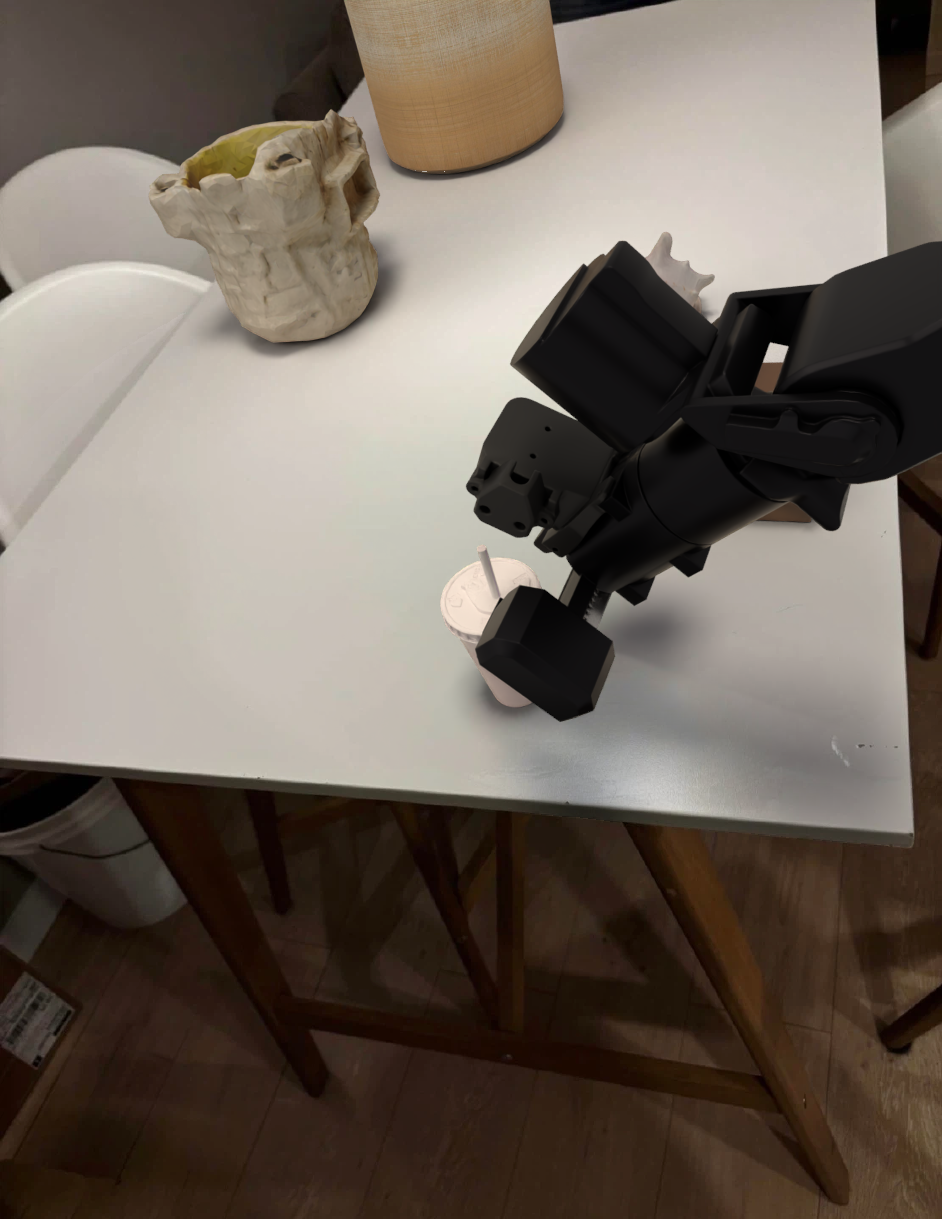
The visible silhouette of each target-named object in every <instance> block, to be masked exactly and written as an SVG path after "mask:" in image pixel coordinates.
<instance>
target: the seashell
mask: <svg viewBox="0 0 942 1219" xmlns="http://www.w3.org/2000/svg"><path fill="white" fill-rule="evenodd" d="M673 241H674V240H673V236H672V235H671V233H670V232H668V231H663V232H662V233H661V235H660V236H659V238H658V240H657V242H656V243H655V245H654V247H653V248H652V249H651V251H650V253H649V254H648V255H647V256H644V257H645V258H646V260H647V261H648V262H649V263H650V264H651V266H652V267H653V269H654V270H655V271H656V273H657V274H658V275H659V277H660V278H661V279H662V280H663V281H664V282H666V283H667V284H668V285H669V286H670V287H671V288H672V289H673V290H675V291H676V292H677V293H678V294H679V295H680V296H681V297H682V298H683V299H685V300H686V301H687V302H688V303H689V304H690V305H691V306H692V307H694V308H695V309H696V310H697V311H698V312H699V313H700V314H701V315H702V298H701V296H699V295H700V293H701V291H702V290H703V289H705V288H707V287H708V286H709V285H711V284H712V283H714V281H715V277H716V276H715V274H713V273H711V274H702V273H700V272H697V271H695V270H694V269H693V268H692V267H691V264H690V260H687V259H686V260H684V261H683V260H678V259H675V258H674V257H673V256H672V254H671V252H672V248H673Z"/></svg>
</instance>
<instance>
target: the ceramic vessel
mask: <svg viewBox="0 0 942 1219" xmlns="http://www.w3.org/2000/svg"><path fill="white" fill-rule="evenodd" d="M363 136H364V131H363V129H362V128H361V127H359V126H358V123H357V120H356V119H355V117H354V116H349V117H348V116H340V115H339V113H337V112H336V111H334V110H333V109H330V110H329V111H328V112H326V114H325V117H324V119H323V120H279V121H270V122H264V123H260V124H251V125H248V126H246V127H242V128H240V129H237V130H235V131H233V132H230V133H228V134H224V135H221V136H219V137H218V138H217V139H216V140H215V141H213V142H212V143H211V144H209V145H206V146H203V147H202V148H200V149H199V150H198V151H197V152H195V154H193V155H192V156H190V157H188V158H187V159H185V160H184V161H183V162H182V163H181V165H179V171H178V172H176V173H163V174H160V175H159V176H158V177H156V179H155V180H154V181H152V182H151V184H149V186H148V187H149V192H148V201H149V204H150V205H151V207H152V209H153V211H154V212H155V213H156V215H157V217H158V218H159V221H160V223H161V224H162V226H163V228H164V231H165V232H166V234H167V235H168V236H170V237H172V238H174V239H182V240H188V241H193V242H196V243H197V244H198V245H200V246H201V247H203V249H205V250H206V252H207V254H208V258H209V261H210V265H211V268H212V270H213V273H214V277H215V282H216V283H217V285H218V288H219V290H221V293H222V296H223V298H224V301H225V304H226V306H227V308H228V310H229V311H230V312H231V313H232V314H233V315H234V317H235V318H236V319H237V320H238V322H239V324H240V326H241V327H242V328H244V329H245V330H247V331H249V332H250V333H252V334H254V335H256V336H257V337H260V338H262V339H264V340H267V341H269V342H271V343H272V344H273V343H274V344H275V343H286V342H302V341H303V342H305V341H313V340H318V339H325V338H328V337H330V336H333V335H335V334H337V333H339V332H341V331H343V330H345V329H346V328H347V327H349V326H350V325H351V324H353V323H354V322H355V321H356V320H357V319H358V318H360V317H361V316H362V314H363V312H364V311H365V310H366V308H367V307H368V304H369V303H370V301H371V298H372V297H373V294H374V291H375V289H376V285H377V283H378V280H379V279H378V278H379V260H378V252H377V250H376V249H375V246H374V245H373V243H372V242H371V240H370V233H369V230H368V228H367V226H366V225H365V222H366V221H367V220H368V219H369V218H370V217H371V216H372V215H373V214H374V213H375V211H376V210H377V208H378V205H379V202H380V200H379V199H380V197H381V193H380V191H379V189H378V186H377V181H376V178H375V175H374V173H373V169H372V165H371V160H370V154H369V152H368V148H367V143H366V140H365V139H364V137H363Z"/></svg>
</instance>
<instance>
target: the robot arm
mask: <svg viewBox="0 0 942 1219" xmlns="http://www.w3.org/2000/svg"><path fill="white" fill-rule="evenodd" d="M645 257H646V256H644V255H643V254H642V253H641V252H639V251H638V250H637V249H636V248H635V247H633V245H631V243H630V242H628V241H627V240H618V241H617V242H616V243H615V244H614V246H613V247H612V248H610V250H609V251H608V252H607V253H606V254H605V253H601V254H599V255H598V256H597V257H596V258H594V259H593V260H592V261H591V262H590V263H589V264H588V265H587V264H585V263H582V264H581V265H580V266H579V267H578V268H577V269H576V271H574V273H573V274H572V275H571V276H570V277H569V278H568V280H567V281H566V282H565V283H564V284H563V286H562V287H561V288H560V289H559V291H558V292H557V293H556V294H555V296H553V298H552V299H551V301H550V302H548V304H547V305H546V307H545V308H544V310H543V311H542V312H541V314H540V315H539V317H537V319H536V320H535V322H534V323H533V324H532V326H531V327H530V328H529V330H528V331H527V333H526V334H525V336H524V337H523V339H522V340H521V342H520V343H519V345H518V347H517V348H516V350H515V352H514V353H513V355H512V357H511V359H510V361H509V362H510V363H509V365H510V366H511V367H512V369H514V370H515V371H517V372H518V373H519V374H520V375H522V377H524V378H525V379H526V380H527V381H529V382H530V383H531V384H533V386H535V387H536V388H537V389H539V391H541V392H542V393H543V394H544V395H546V396H547V397H548V398H549V399H551V400H552V401H553V402H554V403H555V404H557V405H558V406H559V407H560V408H562V409H563V410H564V411H565V412H566V413H568V414H569V415H570V416H568V415H567V414H564V413H563V412H560V411H558V410H556V409H553V408H551V407H549V406H547V405H544V404H542V403H540V402H538V401H537V400H534V399H531V398H530V397H529V398H528V397H521V396H520V397H514V398H512V399H510V400H509V401H508V402H506V404H505V405H504V407H503V409H502V410H501V412H500V414H499V415H498V417H497V418H496V421H495V422H494V424H493V425H492V427H491V429H490V431H489V432H488V434H487V436H486V437H485V439H484V441H483V443H482V446H481V450H480V453H479V457H478V460H477V463H476V467H475V469H474V470H473V472H472V473H471V475H470V477H469V479H468V481H467V483H466V484H465V489H466V492H468V493H469V494H470V495H472V496H474V497H475V500H476V501H475V503H474V506H473V512H474V515H475V516H476V517H477V519H478V520H479V521H480V522H482V523H484V524H486V525H488V526H490V527H492V528H494V529H497V530H499V531H501V532H502V533H505V534H507V535H510V536H511V537H513V538H517V539H521V538H522V539H523V538H527V537H529V536H530V534H531V533H532V531H533V528H535V527H540V528H542V529H541V530H540V531H539V533H538V534H537V536H536V537H535V539H534V541H533V545H534V547H536V548H537V549H538V550H539V551H541V553H544V554H551V553H553V554H554V555H555V556H557V557H558V558H562V559H563V558H566V561H567V563H568V565H569V566H570V567H571V570H570V572H569V574H568V575H567V576H568V577H567V578H566V580H565V583H564V585H563V587H562V589H561V591H560V594H559V596H558V598H557V597H555V596H554V595H553V594H552V593H551V592H549V591H548V590H546V589H544V588H542V589H540V588H535V587H529V586H523V585H519V586H518V587H516V588H515V589H513V590H512V591H510V592H509V593H508V594H507V595H506V596H505V598H504V599H503V598H501V597H500V598H499V600H498V602H497V604H496V606H495V608H494V610H493V612H492V614H491V616H490V618H489V620H488V622H487V624H486V626H485V628H484V630H483V632H482V636H481V638H480V640H479V642H478V644H477V646H476V648H475V651H476V655H477V656H476V657H477V659H478V662H479V665H481V666H482V667H483V668H485V669H486V670H488V671H489V672H490V673H492V674H493V675H495V676H496V677H497V678H499V679H500V680H502V681H503V682H504V683H506V684H507V685H509V686H510V687H511V688H513V689H514V690H516V691H517V692H518V693H520V694H521V695H522V696H524V697H525V698H527V699H528V700H529V701H531V702H532V703H531V704H534V705H535V706H536V707H537V708H539V709H540V710H542V711H543V712H544V713H546V714H547V715H549V716H550V717H552V718H553V719H554V720H556V721H557V722H559V723H563V722H567V721H571V720H574V719H577V718H579V717H582V716H584V715H586V714H587V715H588V714H589V713H591V712H594V711H595V709H596V708H597V704H598V702H599V699H600V697H601V694H602V692H603V689H604V686H605V684H606V681H607V679H608V677H609V674H610V671H611V669H612V667H613V664H614V662H615V658H616V653H615V652H616V651H615V646H614V641H613V639H611V638H610V637H608V636H607V635H606V634H604V633H603V632H602V631H601V630H599V629H598V628H599V625H600V623H601V621H602V619H603V617H604V614H605V611H606V609H607V606H608V604H609V602H610V599H611V597H612V594H613V593H616V594H617V595H618V596H620V597H621V598H623V599H624V600H625V601H627V602H628V603H629V604H631V606H634V607H635V606H637V605H639V604H641V603H643V602H645V601H647V600H648V598H649V594H650V592H651V589H652V587H653V584H654V581H655V579H656V577H657V576H659V575H660V574H662V573H664V572H665V571H667V570H670V569H671V568H672V567H673V568H676V569H677V570H678V571H679V572H680V573H682V575H684V576H685V577H687V578H690V577H692V576H694V575H696V574H698V573H701V572H702V571H704V568H705V565H706V562H707V560H708V557H709V553H710V551H711V548H712V545H715V544H716V543H718V542H719V541H722V540H723V539H725V538H726V537H728V536H730V535H732V534H734V533H736V532H738V531H740V530H741V529H743V528H745V527H747V526H748V525H750V524H752V523H754V522H756V521H759V520H758V519H759V518H761V517H763V516H765V515H767V514H768V513H770V512H772V511H774V510H776V509H777V508H779V507H781V506H783V505H785V504H787V503H788V502H792V503H794V504H795V505H796V506H798V507H799V508H800V509H801V510H802V511H804V512H805V513H806V514H807V515H808V516H809V517H811V520H813V521H814V523H816V524H817V525H818V526H820V527H821V528H822V529H824V530H825V531H827V532H836V531H837V530H839V529H840V528H841V526H842V523H843V520H844V519H843V518H844V514H845V510H846V507H847V502H848V497H849V494H850V490H851V485H864V484H869V483H875V482H880V481H885V480H888V479H890V478H893V477H897V476H898V475H900V474H903V473H904V472H907V471H909V470H911V469H913V468H915V467H917V466H920V465H921V464H923V463H925V462H927V461H930V460H932V459H934V458H935V457H938V456H940V455H942V240H938V241H936V240H935V241H928V242H924V243H922V244H919V245H915V246H913V247H910V248H907V249H903V250H901V251H898V252H895V253H892V254H889V255H887V256H883V257H881V258H880V257H879V258H877V259H875V260H872V261H869V262H866V263H863V264H860V265H856V266H853V267H851V268H848V269H846V270H843V271H841V272H838V273H836V274H834V275H833V276H831V277H830V278H829V279H827V280H825V281H824V282H823V283H813V284H802V285H791V286H783V287H773V288H772V287H771V288H762V289H754V290H742V291H734V292H731V293H730V294H729V295H728V296H727V299H726V300H725V303H724V306H723V307H722V311H721V313H720V315H719V316H718V317H717V318H716V319H715V320H714V321H713V322H711V321H709V320H708V318H706V317H705V316H704V315H703V314H702V313H701V314H700V313H699V312H698V311H697V310H696V309H695V308H694V307H692V306H691V305H690V304H689V303H688V302H687V301H686V300H685V299H683V298H682V297H681V296H680V295H679V294H678V293H677V292H676V291H675V290H673V289H672V288H671V287H670V286H669V285H668V284H667V283H666V282H664V281H663V280H662V279H661V278H660V277H659V275H658V274H657V273H656V271H655V270H654V269H653V267H652V266H651V264H650V263H649V262H648V261H647V260H646V258H645ZM770 344H775V345H780V346H785V347H787V349H786V352H785V355H784V358H783V361H782V362H783V364H782V367H781V370H780V373H779V376H778V379H777V382H776V385H775V388H774V391H768V392H764V391H763V390H761V389H759V388H757V387H756V386H755V383H756V381H757V378H758V375H759V372H760V369H761V367H762V364H763V363H764V361H765V358H766V355H767V353H768V350H769V347H770Z"/></svg>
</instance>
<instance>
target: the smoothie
mask: <svg viewBox="0 0 942 1219" xmlns="http://www.w3.org/2000/svg"><path fill="white" fill-rule="evenodd" d="M476 551H477V554H478V557H479V560H477V561H474V562H471V563H469V564H468V565H466V566H464V567H463V568H461V569H460V570H458V571H457V572H456V573H455V574H454V575H453V576H452V577H451V578H450V579H449V580H448V581H447V583H446V584H445V586H444V588H443V590H442V593H441V596H440V604H439V605H440V611H441V614H442V618H443V621H444V624H445V626H446V628H447V629H448V630H449V631H450V633H451V634H452V635H453V636H455V637H456V638H458V639H459V641H460V642H461V643H462V645H463V647H464V648H465V650H466V652H467V654H468V656H469V657H470V658H471V660H472V661H473V663H474V665H475V666H476V668H477V670H478V671H479V674H480V675H481V676H482V678H483V679H484V681H485V683H486V685H487V686H488V688H489V689H490V691H491V693H492V694H493V696H494V698H495V699H496V700H497V701H498V703H500V704H502V705H503V706H505V707H509V708H521V707H526V706H529V705H531V704H533V703H532V702H531V701H529V700H528V699H527V698H525V697H524V696H522V695H521V694H520V693H518V692H517V691H516V690H514V689H513V688H511V687H510V686H509V685H507V684H506V683H504V682H503V681H502V680H500V679H499V678H497V677H496V676H495V675H493V674H492V673H490V672H489V671H488V670H486V669H485V668H483V667H482V666H481V665H479V662H478V659H477V657H476V656H477V655H476V651H475V648H476V646H477V644H478V642H479V640H480V638H481V636H482V632H483V630H484V628H485V626H486V624H487V622H488V620H489V618H490V616H491V614H492V612H493V610H494V608H495V606H496V604H497V602H498V600H499V598H500V597H501V598H503V599H504V598H505V596H506V595H507V594H508V593H509V592H510V591H512V590H513V589H515V588H516V587H518V586H519V585H523V586H529V587H535V588H540V589H543V588H542V585H541V583H540V579H539V577H538V575H537V573H536V572H535V571H534V570H533V569H532V568H531V567H530V566H529V565H527V563H524V562H523V561H520V560H517V559H514V558H511V557H510V558H509V557H490V555H489V552H488V548H487V546H486V545H485V544H479V545H478V546H477V547H476Z"/></svg>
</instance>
